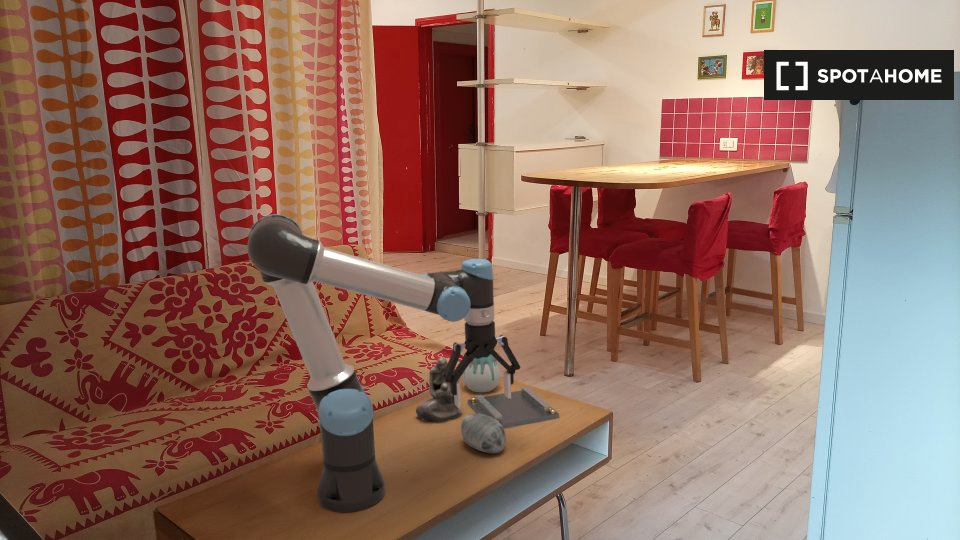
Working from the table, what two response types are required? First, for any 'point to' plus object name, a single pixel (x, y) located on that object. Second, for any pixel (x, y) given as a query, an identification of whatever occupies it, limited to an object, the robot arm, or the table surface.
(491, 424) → the grey rock
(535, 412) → the carrier
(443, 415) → the figurine
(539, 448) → the table surface
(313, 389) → the robot arm
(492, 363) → the vase
